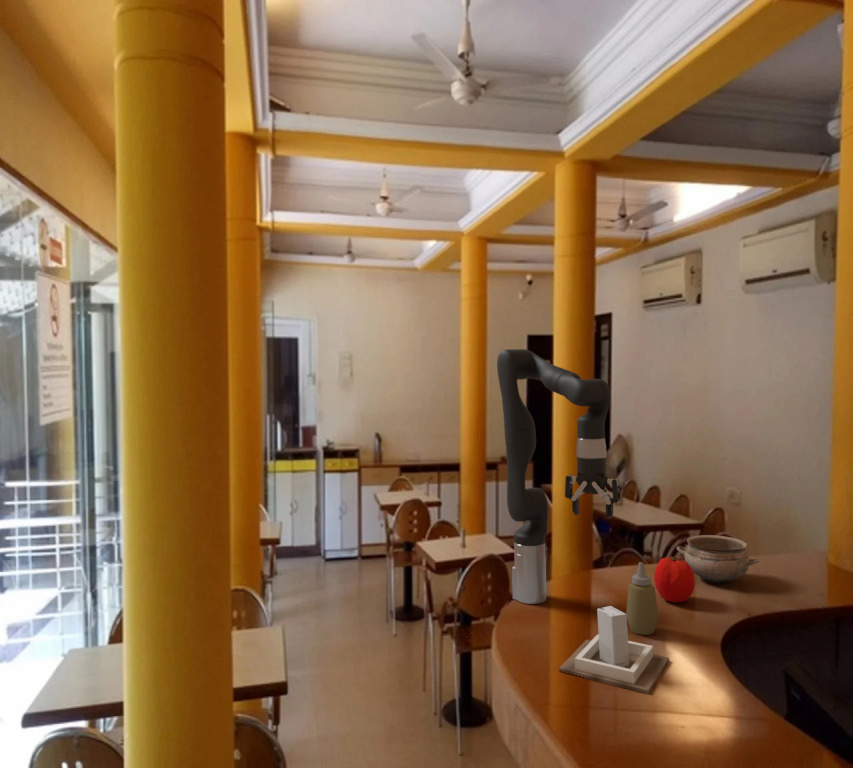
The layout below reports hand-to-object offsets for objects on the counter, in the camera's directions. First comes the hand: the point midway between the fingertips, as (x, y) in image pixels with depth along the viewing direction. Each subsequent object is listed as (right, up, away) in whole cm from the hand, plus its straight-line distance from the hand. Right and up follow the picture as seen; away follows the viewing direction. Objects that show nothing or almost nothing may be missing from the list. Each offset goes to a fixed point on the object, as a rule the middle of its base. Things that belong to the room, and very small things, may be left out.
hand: (592, 516), depth 171 cm
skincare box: (0, -30, -20) cm, 36 cm away
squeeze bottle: (+13, -30, -1) cm, 33 cm away
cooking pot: (+49, -28, +36) cm, 67 cm away
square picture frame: (0, -31, -20) cm, 37 cm away
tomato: (+29, -29, +19) cm, 45 cm away
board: (0, -31, -20) cm, 37 cm away
